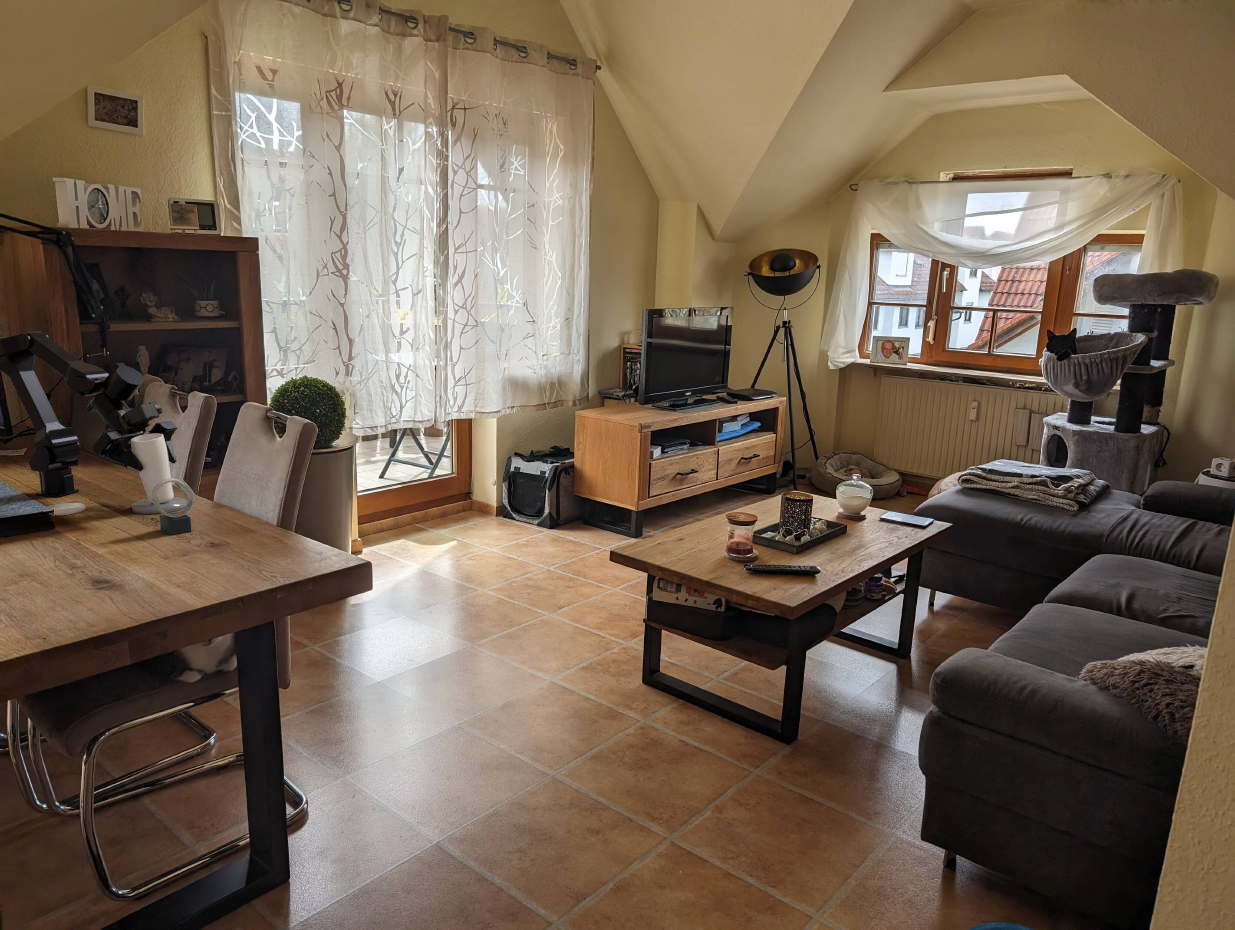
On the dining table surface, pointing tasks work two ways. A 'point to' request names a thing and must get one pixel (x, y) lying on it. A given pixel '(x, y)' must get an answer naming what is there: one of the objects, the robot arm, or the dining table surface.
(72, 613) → the dining table surface
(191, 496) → the grey ring on block
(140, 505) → the slate saucer
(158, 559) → the dining table surface
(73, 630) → the dining table surface
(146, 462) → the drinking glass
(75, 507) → the cream coaster
